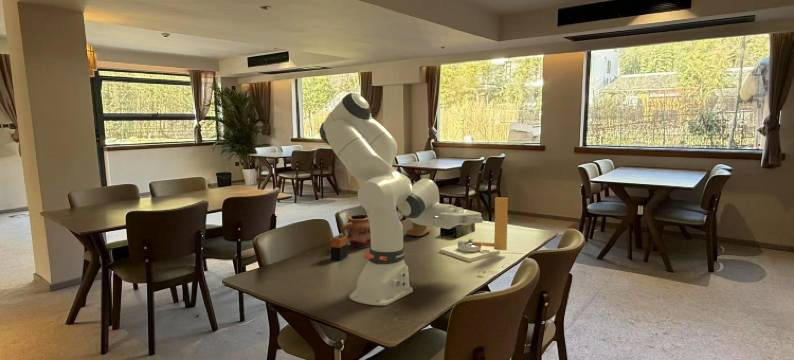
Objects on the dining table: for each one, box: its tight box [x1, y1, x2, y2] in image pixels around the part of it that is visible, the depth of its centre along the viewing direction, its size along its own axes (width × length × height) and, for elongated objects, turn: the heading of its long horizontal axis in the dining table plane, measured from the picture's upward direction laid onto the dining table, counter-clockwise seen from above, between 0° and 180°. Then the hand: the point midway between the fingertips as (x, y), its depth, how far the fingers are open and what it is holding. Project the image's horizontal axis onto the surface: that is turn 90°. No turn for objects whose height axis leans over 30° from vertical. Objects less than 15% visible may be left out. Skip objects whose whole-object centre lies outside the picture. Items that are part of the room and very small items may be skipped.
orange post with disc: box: [457, 196, 509, 252], centre depth 195 cm, size 20×10×23 cm, turn 73°
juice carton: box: [439, 223, 476, 239], centre depth 231 cm, size 20×10×6 cm, turn 142°
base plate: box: [439, 243, 501, 263], centre depth 198 cm, size 18×18×2 cm
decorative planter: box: [340, 214, 371, 249], centre depth 209 cm, size 20×12×14 cm, turn 141°
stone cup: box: [405, 221, 432, 237], centre depth 230 cm, size 15×12×15 cm
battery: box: [330, 233, 349, 262], centre depth 191 cm, size 4×7×10 cm, turn 155°
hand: (480, 220), depth 159 cm, fingers closed
